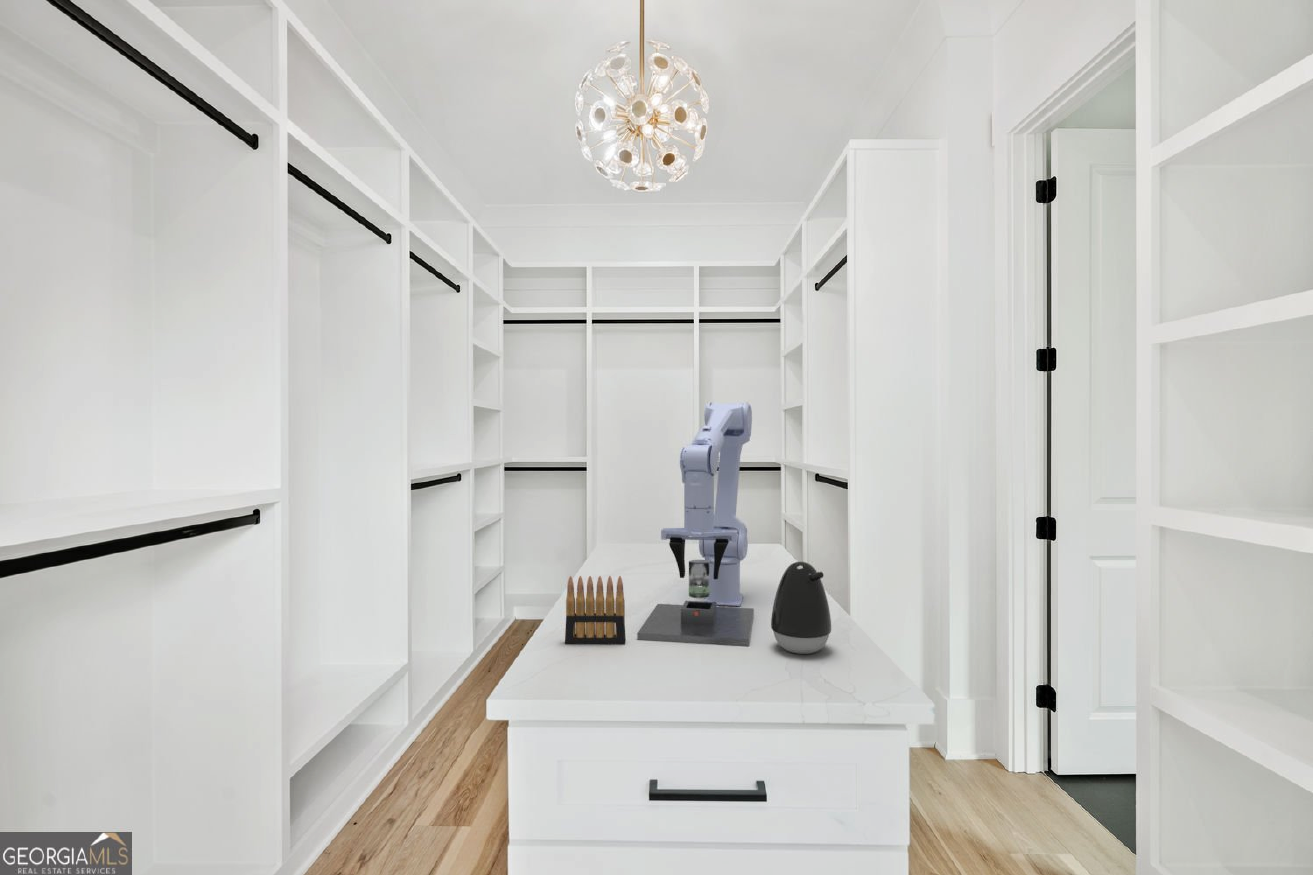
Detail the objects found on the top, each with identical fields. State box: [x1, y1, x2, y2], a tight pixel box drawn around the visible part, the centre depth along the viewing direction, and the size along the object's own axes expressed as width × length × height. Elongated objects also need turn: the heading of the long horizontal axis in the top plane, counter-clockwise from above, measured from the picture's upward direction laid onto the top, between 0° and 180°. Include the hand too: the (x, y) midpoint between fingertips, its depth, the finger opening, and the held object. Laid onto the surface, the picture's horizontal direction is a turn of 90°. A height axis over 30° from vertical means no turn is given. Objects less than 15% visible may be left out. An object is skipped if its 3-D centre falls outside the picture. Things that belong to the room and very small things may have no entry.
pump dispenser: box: [770, 561, 832, 655], centre depth 116 cm, size 10×10×15 cm
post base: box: [636, 600, 755, 647], centre depth 130 cm, size 20×20×4 cm
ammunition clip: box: [564, 575, 627, 646], centre depth 120 cm, size 11×2×12 cm, turn 90°
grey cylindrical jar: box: [688, 559, 710, 599], centre depth 130 cm, size 4×4×6 cm
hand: (699, 577), depth 130 cm, fingers open, 6 cm apart
